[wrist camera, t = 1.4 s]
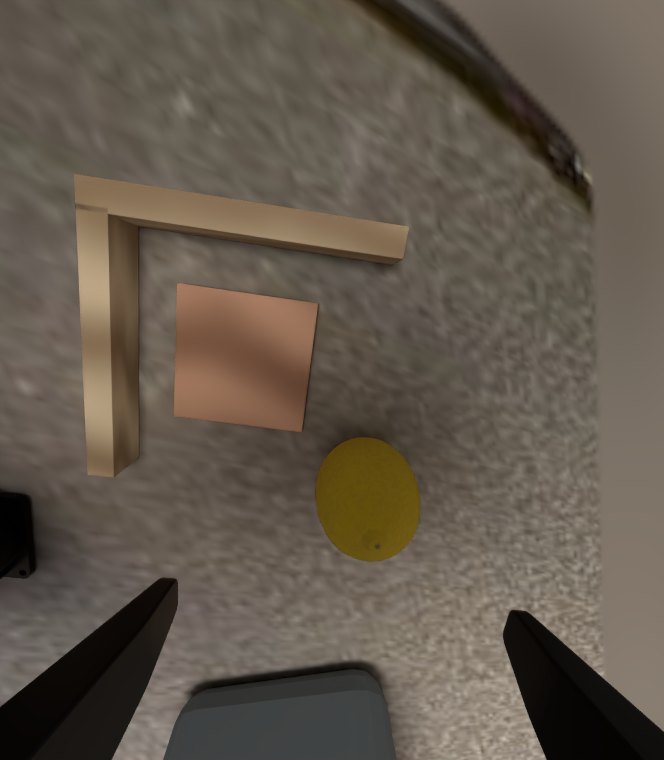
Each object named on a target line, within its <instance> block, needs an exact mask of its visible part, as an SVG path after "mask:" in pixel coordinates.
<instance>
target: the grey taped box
mask: <svg viewBox="0 0 664 760" xmlns="http://www.w3.org/2000/svg"><path fill="white" fill-rule="evenodd" d="M163 760H396V754H395V749H394V743H393V737H392V732H391V726H390V720H389V714H388V709H387V704H386V701H385V699H384V696H383V693H382V690H381V687H380V686H379V684H378V683H377V681H376V680H375V679H374V678H373V677H372V676H370V675H369V674H368V673H367V672H366V671H363V670H357V669H349V670H342V671H335V672H327V673H320V674H313V675H306V676H298V677H291V678H284V679H277V680H269V681H262V682H255V683H247V684H240V685H233V686H226V687H218V688H211V689H206V690H204V691H202V692H200V693H198V694H196V695H195V696H193V697H192V698H191V699H190V700H189V701H188V702H187V703H186V705H185V706H184V707H183V708H182V710H181V712H180V714H179V716H178V718H177V720H176V722H175V725H174V728H173V731H172V734H171V737H170V740H169V743H168V746H167V750H166V753H165V756H164V759H163Z"/></svg>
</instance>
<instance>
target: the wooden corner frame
mask: <svg viewBox="0 0 664 760" xmlns="http://www.w3.org/2000/svg"><path fill="white" fill-rule="evenodd" d="M74 180H75V202H76V225H77V247H78V270H79V293H80V315H81V338H82V360H83V383H84V405H85V428H86V450H87V473H88V475H97V476H105V477H115V476H116V475H117V474H119V473H120V472H121V471H122V470H124V469H125V468H126V467H127V466H129V465H130V464H131V463H132V462H134V461H135V460H136V459H137V458H139V268H138V226H139V227H146V228H153V229H159V230H166V231H172V232H179V233H185V234H192V235H198V236H205V237H212V238H218V239H225V240H231V241H238V242H244V243H251V244H258V245H264V246H271V247H277V248H284V249H290V250H297V251H303V252H310V253H317V254H323V255H330V256H336V257H343V258H349V259H356V260H363V261H369V262H376V263H382V264H389V265H394V264H396V263H397V262H399V261H401V260H402V259H403V256H404V251H405V246H406V240H407V235H408V229H409V227H407V226H401V225H394V224H388V223H382V222H375V221H369V220H363V219H356V218H350V217H344V216H337V215H331V214H325V213H318V212H312V211H306V210H299V209H293V208H287V207H280V206H274V205H268V204H261V203H255V202H249V201H242V200H236V199H230V198H223V197H217V196H211V195H204V194H198V193H192V192H185V191H179V190H173V189H166V188H160V187H154V186H147V185H141V184H135V183H128V182H122V181H116V180H109V179H103V178H97V177H90V176H84V175H78V174H74ZM317 310H318V303H311V302H304V301H297V300H290V299H283V298H276V297H269V296H263V295H256V294H249V293H242V292H235V291H228V290H221V289H215V288H208V287H201V286H194V285H187V284H180V283H177V313H176V352H175V392H174V416H178V417H186V418H194V419H202V420H210V421H217V422H225V423H233V424H241V425H249V426H257V427H264V428H272V429H280V430H288V431H296V432H302V427H303V420H304V412H305V404H306V396H307V388H308V380H309V373H310V365H311V357H312V349H313V341H314V333H315V326H316V318H317Z"/></svg>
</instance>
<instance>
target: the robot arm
mask: <svg viewBox="0 0 664 760" xmlns="http://www.w3.org/2000/svg"><path fill="white" fill-rule="evenodd" d="M34 571H35V562H34V551H33V541H32V530H31V520H30V509H29V501H28V499H27V498H26V497H25V496H23V495H18V494H9V493H0V579H1V578H2V577H13V578H23V579H24V578H28V577H29V576H30V575H31V574H33V573H34ZM177 606H178V581H177V579H175V578H165V577H163V578H160V579H158V580H157V581H156V582H155V583H153V584H152V585H151V586H150V587H148V588H147V589H146V590H145V591H143V592H142V593H141V594H140V595H139V596H137V597H136V598H135V599H134V600H132V601H131V602H130V603H129V604H127V605H126V606H125V607H124V608H122V609H121V610H120V611H119V612H117V613H116V614H115V615H114V616H112V617H111V618H110V619H109V620H108V621H106V622H105V623H104V624H103V625H101V626H100V627H99V628H98V629H96V630H95V631H94V632H93V633H91V634H90V635H89V636H88V637H86V638H85V639H84V640H83V641H81V642H80V643H79V644H78V645H77V646H75V647H74V648H73V649H72V650H70V651H69V652H68V653H67V654H65V655H64V656H63V657H62V658H60V659H59V660H58V661H57V662H55V663H54V664H53V665H52V666H50V667H49V668H48V669H47V670H46V671H44V672H43V673H42V674H41V675H39V676H38V677H37V678H36V679H34V680H33V681H32V682H31V683H29V684H28V685H27V686H26V687H24V688H23V689H22V690H21V691H19V692H18V693H17V694H16V695H15V696H13V697H12V698H11V699H10V700H8V701H7V702H6V703H5V704H3V705H2V706H1V707H0V760H112V758H113V756H114V754H115V752H116V750H117V748H118V745H119V743H120V741H121V739H122V737H123V735H124V733H125V731H126V729H127V727H128V725H129V723H130V721H131V719H132V717H133V715H134V713H135V711H136V708H137V706H138V704H139V702H140V700H141V698H142V696H143V694H144V692H145V689H146V687H147V685H148V683H149V680H150V678H151V675H152V673H153V670H154V668H155V665H156V662H157V660H158V657H159V655H160V652H161V650H162V647H163V644H164V642H165V639H166V637H167V634H168V632H169V629H170V626H171V624H172V621H173V619H174V616H175V613H176V610H177ZM503 640H504V644H505V647H506V650H507V653H508V656H509V659H510V662H511V665H512V668H513V671H514V674H515V677H516V680H517V683H518V686H519V689H520V692H521V695H522V698H523V701H524V704H525V707H526V709H527V712H528V715H529V718H530V720H531V723H532V725H533V728H534V730H535V733H536V735H537V737H538V740H539V742H540V745H541V747H542V749H543V752H544V754H545V757H546V759H547V760H664V732H663V731H662V730H661V729H660V728H659V727H658V726H657V725H655V724H654V723H653V722H652V721H651V720H650V719H648V718H647V717H646V716H645V715H644V714H643V713H642V712H641V711H640V710H638V709H637V708H636V707H635V706H634V705H633V704H632V703H631V702H629V701H628V700H627V699H626V698H625V697H624V696H623V695H622V694H620V693H619V692H618V691H617V690H616V689H615V688H614V687H612V686H611V685H610V684H609V683H608V682H607V681H606V680H605V679H603V678H602V677H601V676H600V675H599V674H598V673H597V672H596V671H594V670H593V669H592V668H591V667H590V666H589V665H588V664H586V663H585V662H584V661H583V660H582V659H581V658H580V657H579V656H577V655H576V654H575V653H574V652H573V651H572V650H571V649H569V648H568V647H567V646H566V645H565V644H564V643H563V642H562V641H560V640H559V639H558V638H557V637H556V636H555V635H554V634H552V633H551V632H550V631H549V630H548V629H547V628H546V627H545V626H543V625H542V624H541V623H540V622H539V621H538V620H537V619H535V618H534V617H533V616H532V615H531V614H530V613H528V612H526V611H521V610H511V611H510V612H509V615H508V618H507V621H506V625H505V628H504V631H503Z"/></svg>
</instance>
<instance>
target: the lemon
mask: <svg viewBox="0 0 664 760" xmlns="http://www.w3.org/2000/svg"><path fill="white" fill-rule="evenodd" d="M315 499H316V506H317V512H318V516H319V519H320V522H321V524H322V526H323V528H324V531H325V533H326V535H327V536H328V538H329V539H330V540H331V542H332V543H333V544H334V545H335V546H336V547H337V548H338V549H339V550H340V551H342V552H343V553H345V554H346V555H348V556H350V557H353V558H355V559H358V560H362V561H369V562H371V561H381V560H385V559H388V558H390V557H392V556H394V555H396V554H398V553H399V552H400V551H401V550H402V549H404V548H405V547H406V546H407V545H408V544H409V542H410V541H411V539H412V538H413V536H414V534H415V532H416V529H417V527H418V524H419V519H420V494H419V490H418V485H417V481H416V478H415V475H414V473H413V471H412V470H411V468H410V466H409V464H408V462H407V461H406V459H405V458H404V457H403V456H402V455H401V454H400V453H399V452H398V451H397V450H396V449H395V448H394V447H392V446H391V445H389V444H387V443H385V442H384V441H381V440H378V439H375V438H371V437H358V438H352V439H349V440H347V441H344V442H342V443H340V444H339V445H338V446H336V447H335V448H334V449H333V450H331V452H330V453H329V454H328V455H327V457H326V458H325V459H324V461H323V463H322V465H321V468H320V470H319V472H318V475H317V481H316V489H315Z"/></svg>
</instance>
